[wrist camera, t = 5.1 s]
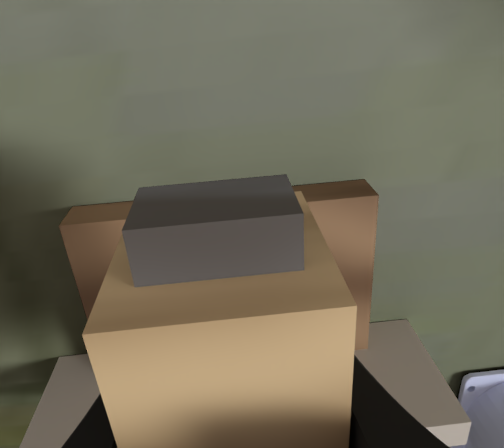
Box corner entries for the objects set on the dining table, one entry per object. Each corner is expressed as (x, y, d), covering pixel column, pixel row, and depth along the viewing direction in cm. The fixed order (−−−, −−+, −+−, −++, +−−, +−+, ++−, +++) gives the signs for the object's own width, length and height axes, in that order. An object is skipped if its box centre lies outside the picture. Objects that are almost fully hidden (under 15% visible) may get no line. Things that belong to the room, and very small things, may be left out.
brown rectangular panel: (356, 324, 25) (367, 348, 23) (113, 351, 24) (105, 378, 23) (364, 179, 21) (378, 195, 19) (72, 206, 20) (58, 225, 18)
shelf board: (404, 338, 26) (466, 444, 20) (66, 376, 25) (17, 499, 19) (407, 318, 25) (471, 421, 19) (59, 356, 24) (6, 478, 18)
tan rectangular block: (304, 419, 16) (341, 582, 11) (180, 433, 15) (167, 606, 11) (300, 148, 11) (360, 242, 7) (123, 163, 11) (62, 272, 6)
